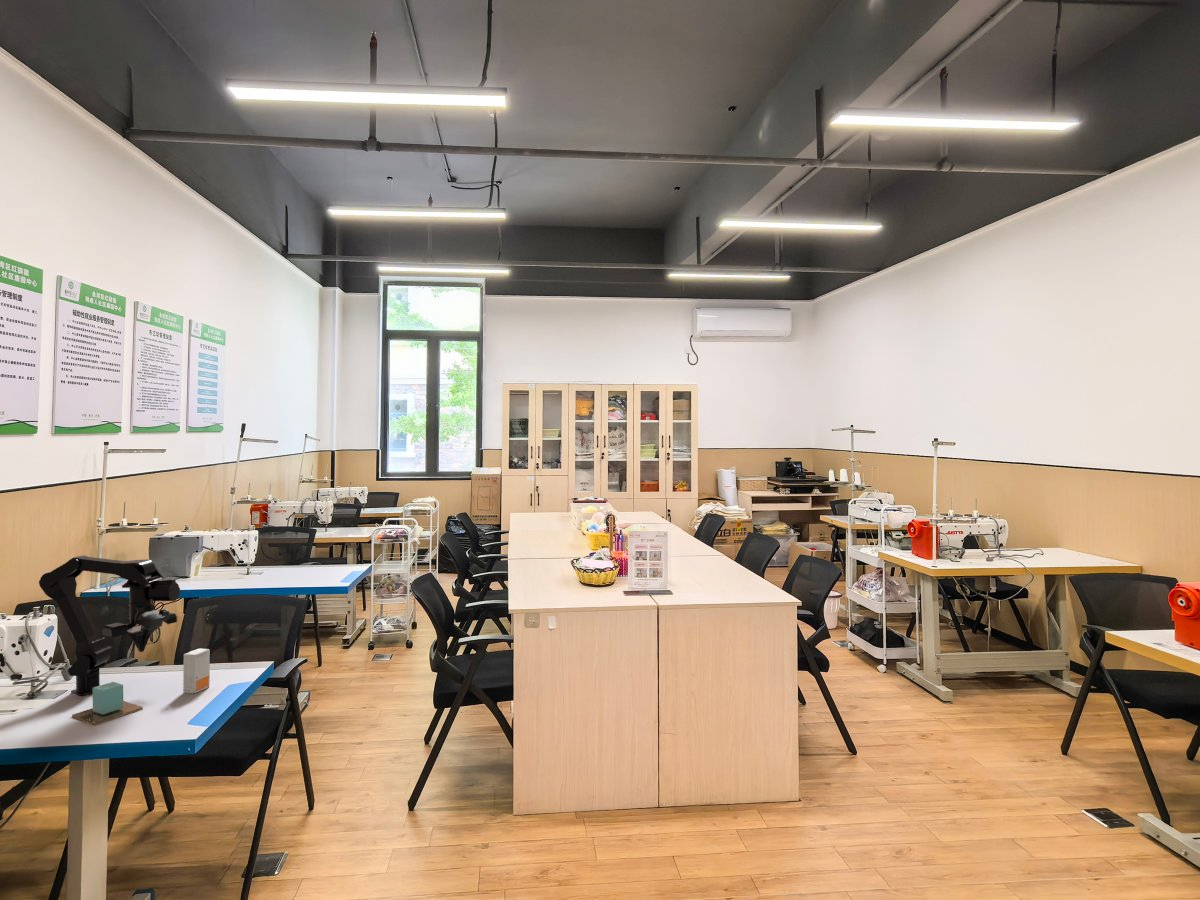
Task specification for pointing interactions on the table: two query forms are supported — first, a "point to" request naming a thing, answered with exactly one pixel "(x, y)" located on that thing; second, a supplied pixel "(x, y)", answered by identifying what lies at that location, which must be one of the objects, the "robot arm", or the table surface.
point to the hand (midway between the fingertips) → (141, 651)
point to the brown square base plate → (99, 718)
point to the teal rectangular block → (107, 697)
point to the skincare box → (196, 670)
